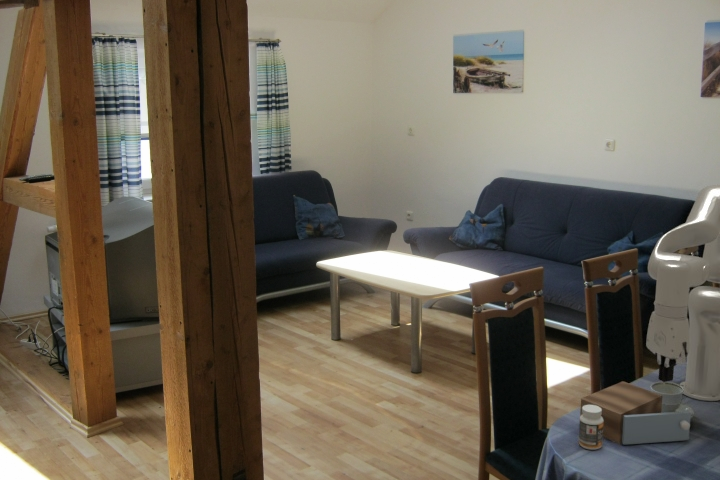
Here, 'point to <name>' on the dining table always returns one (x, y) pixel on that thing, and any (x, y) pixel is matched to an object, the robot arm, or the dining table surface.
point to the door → (656, 427)
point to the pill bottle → (591, 427)
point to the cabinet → (622, 406)
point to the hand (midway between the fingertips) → (665, 379)
